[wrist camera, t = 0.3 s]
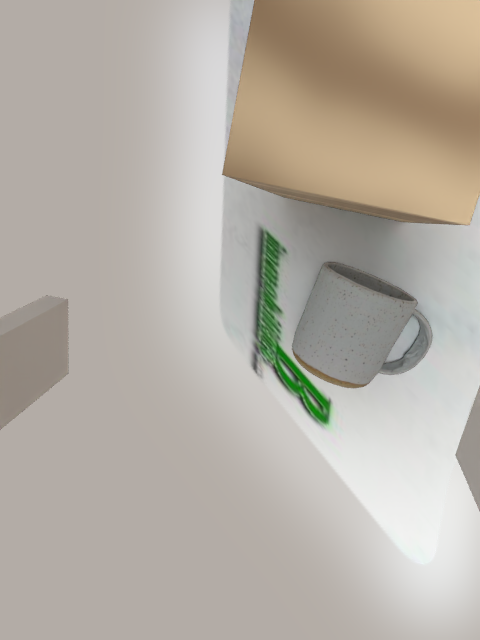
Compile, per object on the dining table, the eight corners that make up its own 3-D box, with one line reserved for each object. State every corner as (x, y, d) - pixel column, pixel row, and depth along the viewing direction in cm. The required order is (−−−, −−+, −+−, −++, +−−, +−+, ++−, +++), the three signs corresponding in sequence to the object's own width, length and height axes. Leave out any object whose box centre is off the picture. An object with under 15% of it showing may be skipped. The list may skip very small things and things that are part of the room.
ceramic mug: (290, 341, 41) (280, 368, 34) (325, 256, 39) (323, 265, 32) (403, 387, 40) (418, 425, 33) (446, 302, 38) (472, 323, 31)
